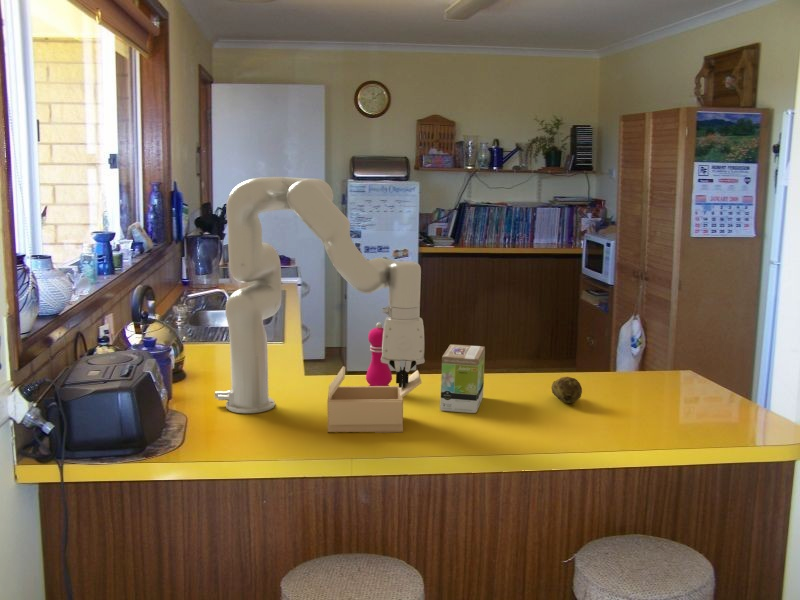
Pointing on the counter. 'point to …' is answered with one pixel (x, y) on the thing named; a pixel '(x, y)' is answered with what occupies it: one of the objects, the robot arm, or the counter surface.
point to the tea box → (462, 378)
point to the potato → (567, 389)
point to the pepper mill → (377, 360)
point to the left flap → (336, 382)
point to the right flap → (411, 384)
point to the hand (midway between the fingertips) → (402, 386)
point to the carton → (365, 409)
